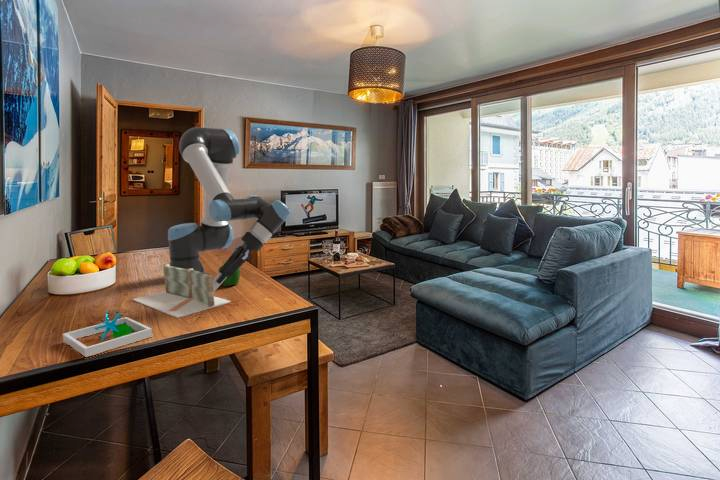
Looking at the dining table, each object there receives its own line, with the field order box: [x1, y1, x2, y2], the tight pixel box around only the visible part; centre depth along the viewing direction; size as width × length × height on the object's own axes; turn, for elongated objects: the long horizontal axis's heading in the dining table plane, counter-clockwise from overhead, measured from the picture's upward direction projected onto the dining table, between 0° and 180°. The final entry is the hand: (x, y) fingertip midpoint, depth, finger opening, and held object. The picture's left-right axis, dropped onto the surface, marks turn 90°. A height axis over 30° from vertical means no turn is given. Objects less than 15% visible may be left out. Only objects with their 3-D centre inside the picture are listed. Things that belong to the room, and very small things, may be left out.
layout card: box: [132, 290, 231, 319], centre depth 136 cm, size 31×19×1 cm, turn 53°
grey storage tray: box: [62, 316, 153, 357], centre depth 103 cm, size 16×16×2 cm
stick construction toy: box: [94, 310, 134, 341], centre depth 106 cm, size 12×7×8 cm
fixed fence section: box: [163, 263, 194, 298], centre depth 142 cm, size 17×2×10 cm, turn 58°
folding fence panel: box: [190, 270, 215, 306], centre depth 132 cm, size 14×2×10 cm, turn 47°
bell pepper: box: [218, 261, 241, 287], centre depth 156 cm, size 8×8×10 cm
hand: (210, 289), depth 133 cm, fingers closed
